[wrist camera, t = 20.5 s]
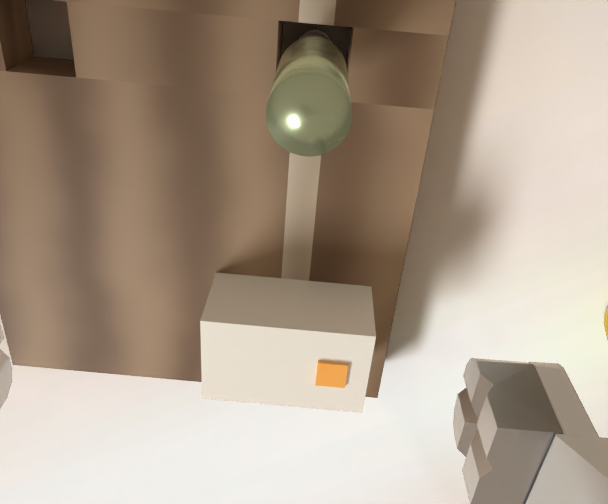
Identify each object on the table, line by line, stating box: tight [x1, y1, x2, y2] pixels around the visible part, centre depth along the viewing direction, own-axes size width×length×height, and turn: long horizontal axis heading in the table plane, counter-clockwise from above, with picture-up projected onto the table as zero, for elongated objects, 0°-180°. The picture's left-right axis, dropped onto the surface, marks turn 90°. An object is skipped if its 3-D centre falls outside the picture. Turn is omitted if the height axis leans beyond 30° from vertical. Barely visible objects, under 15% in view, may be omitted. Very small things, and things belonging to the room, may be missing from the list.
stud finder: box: [200, 272, 376, 413], centre depth 33 cm, size 9×6×5 cm, turn 86°
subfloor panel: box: [0, 0, 456, 398], centre depth 32 cm, size 24×26×3 cm
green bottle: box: [266, 30, 352, 157], centre depth 25 cm, size 3×3×11 cm
